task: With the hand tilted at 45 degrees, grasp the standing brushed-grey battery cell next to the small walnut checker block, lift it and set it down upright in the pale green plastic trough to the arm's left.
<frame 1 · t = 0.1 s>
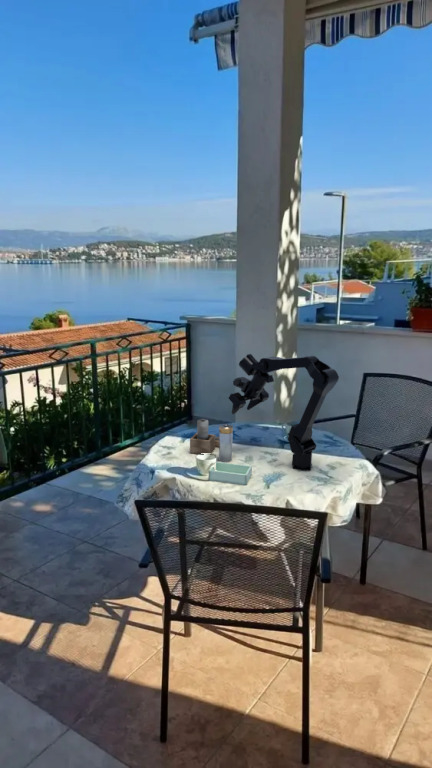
hand: (240, 411, 202), 15 cm above the table, tool tilted 35°, fingers open, 9 cm apart
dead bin: (202, 451, 198), on the table
trough: (230, 477, 173), on the table
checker: (215, 444, 206), on the table
cell: (225, 459, 190), on the table
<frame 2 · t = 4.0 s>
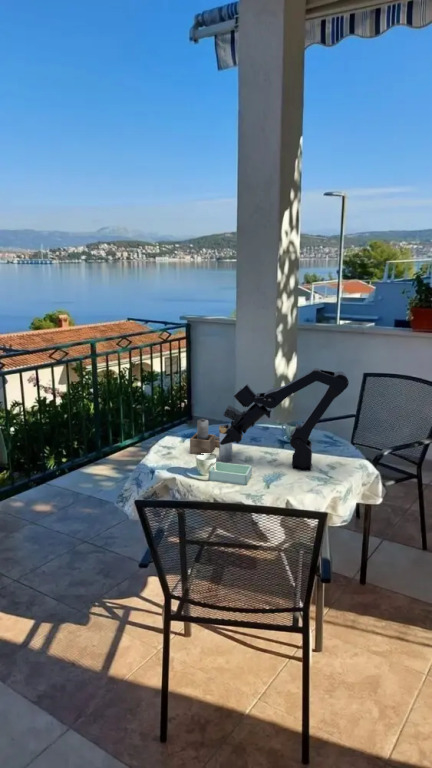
hand: (222, 441, 188), 7 cm above the table, tool tilted 45°, fingers closed on cell, 5 cm apart
cell: (225, 459, 190), on the table, touching gripper
when the fingers open (9 cm above the table, at t = 7.0 s): cell drops 2 cm, resting on trough.
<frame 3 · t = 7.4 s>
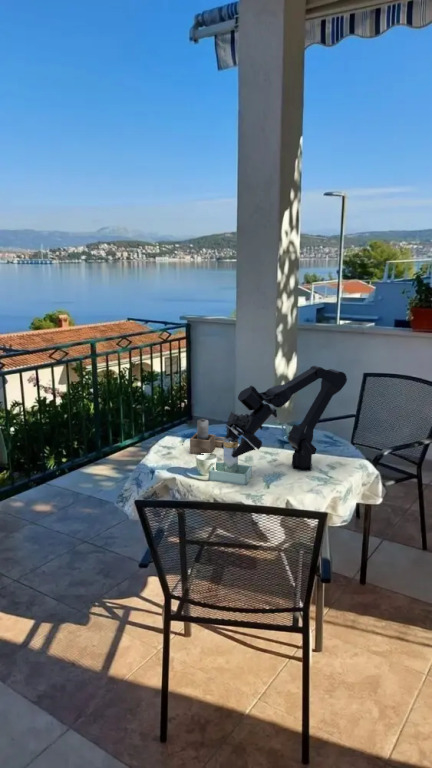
hand: (227, 452, 170), 10 cm above the table, tool tilted 45°, fingers open, 9 cm apart
cell: (230, 476, 173), point 1 cm above the table, touching trough
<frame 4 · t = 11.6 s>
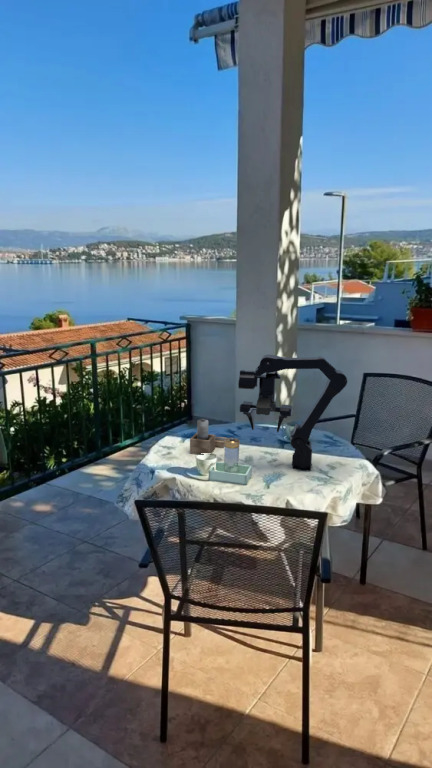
hand: (265, 431, 183), 13 cm above the table, tool pointing down, fingers open, 9 cm apart
nothing on the table moved.
at the end: cell inside the target area on the trough (0.1 cm from its centre), point 0.5 cm above the trough's base; cell tilted 1°; the gripper is holding nothing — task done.
